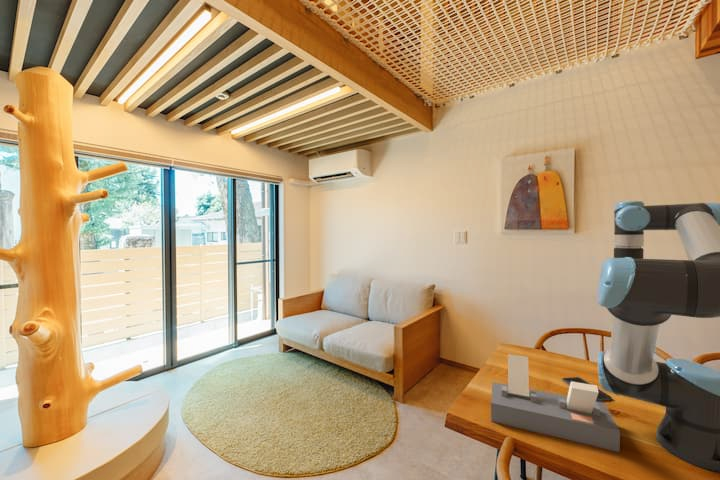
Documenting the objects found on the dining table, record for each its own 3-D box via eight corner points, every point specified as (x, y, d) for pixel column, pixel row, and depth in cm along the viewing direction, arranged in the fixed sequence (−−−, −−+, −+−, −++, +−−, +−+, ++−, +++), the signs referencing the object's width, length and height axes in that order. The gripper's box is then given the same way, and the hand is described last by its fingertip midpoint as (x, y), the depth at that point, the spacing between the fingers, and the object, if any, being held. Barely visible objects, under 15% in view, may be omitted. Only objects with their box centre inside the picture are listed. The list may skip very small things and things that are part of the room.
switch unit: (492, 398, 107) (492, 376, 107) (603, 421, 93) (604, 396, 93) (491, 421, 95) (491, 396, 94) (619, 452, 81) (620, 423, 80)
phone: (593, 399, 104) (560, 378, 119) (593, 402, 104) (560, 380, 119) (614, 398, 104) (579, 376, 119) (614, 401, 104) (579, 379, 119)
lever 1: (508, 392, 100) (507, 354, 104) (528, 396, 97) (527, 357, 101) (508, 392, 98) (508, 354, 102) (529, 396, 95) (528, 357, 99)
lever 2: (566, 402, 92) (570, 381, 85) (590, 406, 89) (596, 385, 83) (567, 408, 90) (572, 387, 84) (591, 413, 88) (598, 392, 81)
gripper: (657, 247, 98) (656, 317, 99) (608, 245, 109) (607, 309, 110) (651, 248, 94) (650, 322, 95) (600, 246, 104) (599, 313, 105)
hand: (627, 315), depth 102 cm, fingers closed
